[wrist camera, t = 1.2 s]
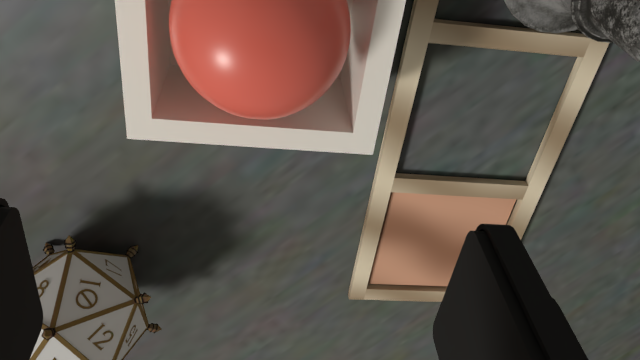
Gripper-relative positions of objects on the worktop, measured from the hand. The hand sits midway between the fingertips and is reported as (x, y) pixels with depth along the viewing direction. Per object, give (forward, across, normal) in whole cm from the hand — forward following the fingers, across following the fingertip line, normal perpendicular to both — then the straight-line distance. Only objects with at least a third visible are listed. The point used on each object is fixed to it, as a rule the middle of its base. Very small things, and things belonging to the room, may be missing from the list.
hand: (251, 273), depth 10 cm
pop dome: (+15, 0, 0) cm, 15 cm away
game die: (+18, +9, +18) cm, 27 cm away
